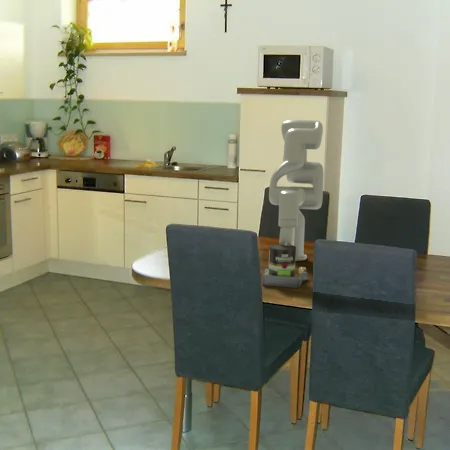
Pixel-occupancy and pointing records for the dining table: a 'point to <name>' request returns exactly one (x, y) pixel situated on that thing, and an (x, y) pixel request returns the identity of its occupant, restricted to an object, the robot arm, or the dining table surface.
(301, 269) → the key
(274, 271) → the coffee can
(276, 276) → the bracket
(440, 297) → the dining table surface
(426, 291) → the dining table surface
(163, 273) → the dining table surface
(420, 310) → the dining table surface
